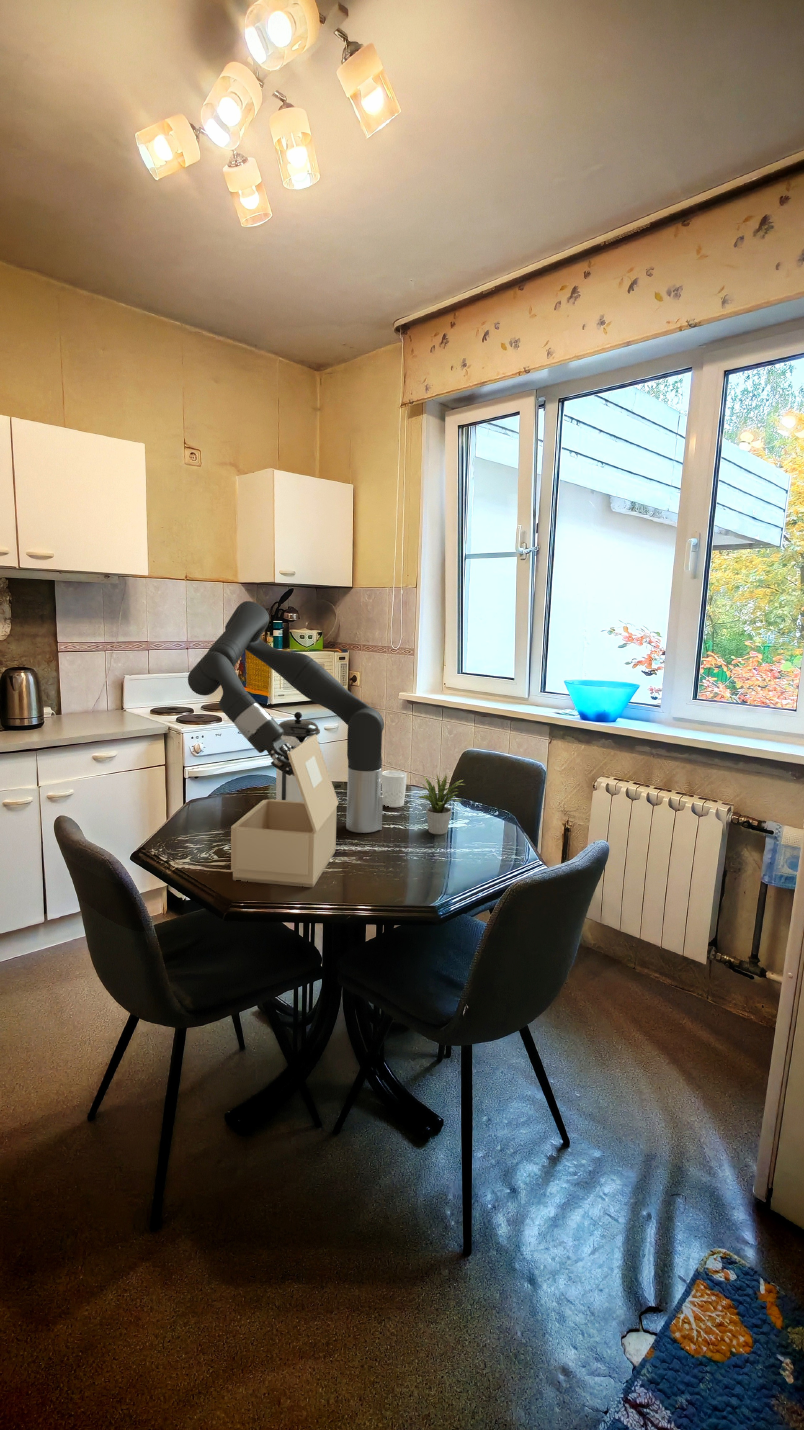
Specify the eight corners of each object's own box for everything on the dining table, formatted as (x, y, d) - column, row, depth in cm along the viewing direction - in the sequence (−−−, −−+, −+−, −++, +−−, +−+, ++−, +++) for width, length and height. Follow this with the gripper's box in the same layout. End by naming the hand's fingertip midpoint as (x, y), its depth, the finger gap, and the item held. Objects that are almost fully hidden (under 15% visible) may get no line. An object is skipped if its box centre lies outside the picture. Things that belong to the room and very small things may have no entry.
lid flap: (336, 803, 160) (339, 803, 160) (314, 832, 139) (317, 831, 139) (313, 735, 158) (316, 734, 158) (287, 753, 137) (290, 752, 137)
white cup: (387, 809, 199) (388, 777, 197) (376, 802, 206) (377, 771, 204) (410, 806, 202) (411, 775, 201) (398, 799, 209) (399, 769, 208)
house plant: (469, 842, 173) (473, 782, 170) (418, 841, 172) (420, 781, 169) (460, 824, 187) (464, 769, 184) (413, 823, 186) (415, 768, 183)
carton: (335, 850, 163) (337, 804, 161) (312, 888, 140) (313, 835, 138) (264, 844, 165) (264, 798, 163) (229, 881, 142) (229, 828, 140)
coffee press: (334, 810, 195) (336, 711, 191) (298, 823, 182) (300, 717, 177) (291, 799, 205) (292, 705, 200) (254, 811, 191) (254, 710, 186)
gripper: (257, 733, 155) (306, 786, 155) (236, 744, 142) (290, 802, 142) (279, 712, 153) (328, 766, 154) (260, 721, 140) (314, 780, 141)
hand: (310, 783), depth 148 cm, fingers closed
